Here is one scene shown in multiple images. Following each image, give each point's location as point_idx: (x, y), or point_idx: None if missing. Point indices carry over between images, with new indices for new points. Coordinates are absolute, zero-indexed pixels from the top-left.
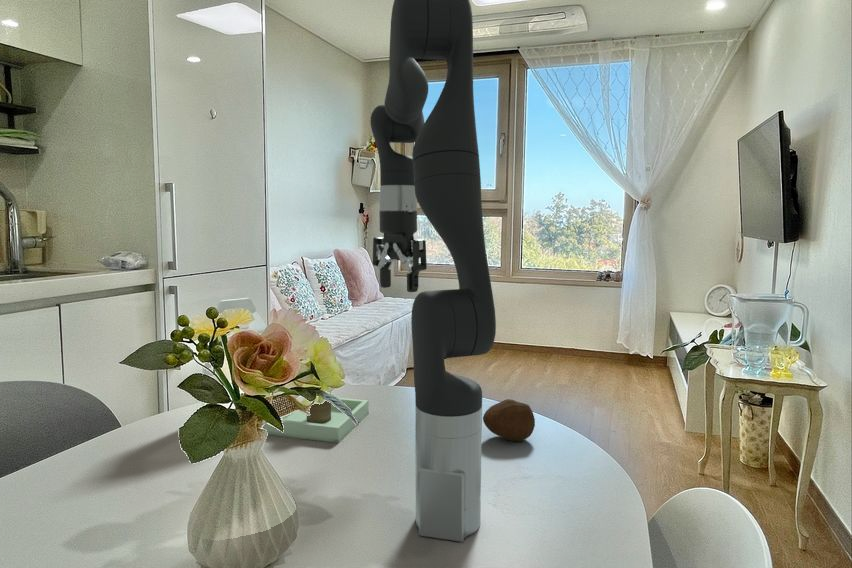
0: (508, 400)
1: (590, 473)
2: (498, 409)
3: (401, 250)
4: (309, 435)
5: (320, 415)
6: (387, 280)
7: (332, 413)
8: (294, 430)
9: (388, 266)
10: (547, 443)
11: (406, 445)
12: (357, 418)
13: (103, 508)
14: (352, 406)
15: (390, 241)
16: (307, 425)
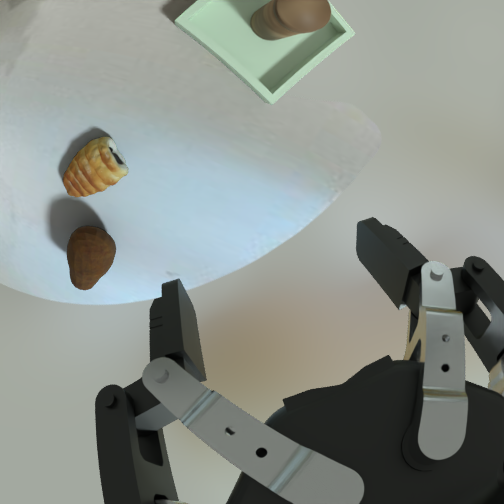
0: (85, 274)
1: (17, 271)
2: (77, 252)
3: (258, 481)
4: None
5: (254, 16)
6: (373, 260)
7: (283, 49)
8: None
9: (413, 312)
10: None
11: (119, 111)
12: (232, 69)
13: None
14: (282, 81)
15: (438, 468)
16: None
